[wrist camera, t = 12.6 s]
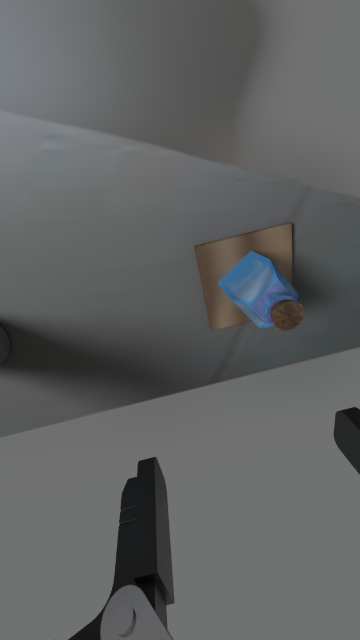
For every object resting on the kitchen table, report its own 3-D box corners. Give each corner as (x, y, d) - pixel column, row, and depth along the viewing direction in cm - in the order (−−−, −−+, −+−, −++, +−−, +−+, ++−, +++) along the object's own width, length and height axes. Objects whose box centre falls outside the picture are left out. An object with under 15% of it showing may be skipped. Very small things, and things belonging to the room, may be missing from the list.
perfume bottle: (276, 280, 35) (330, 314, 24) (244, 309, 37) (280, 353, 26) (250, 250, 33) (297, 273, 22) (217, 282, 34) (245, 318, 24)
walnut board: (210, 328, 39) (211, 330, 38) (194, 246, 33) (195, 247, 32) (290, 308, 38) (293, 310, 38) (288, 222, 33) (291, 223, 32)
